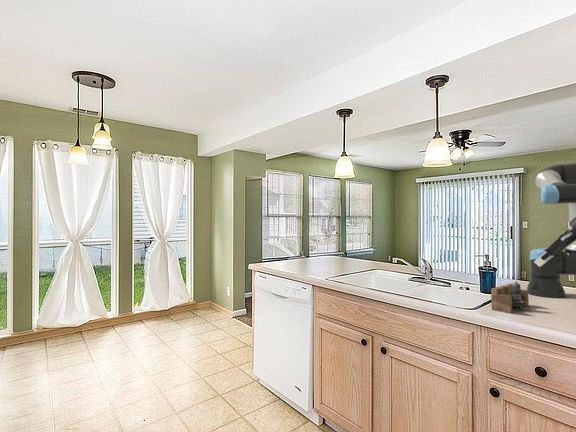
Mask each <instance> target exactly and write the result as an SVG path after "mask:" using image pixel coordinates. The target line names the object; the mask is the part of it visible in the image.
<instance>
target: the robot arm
mask: <svg viewBox="0 0 576 432" xmlns="http://www.w3.org/2000/svg"><path fill="white" fill-rule="evenodd" d="M534 184H535V185H536V187H537V188H538V189H540V200H541V203H543V204H544V205H550V204H551V205H556V204H557V205H558V204H560V205H561V204H568V229H567V230H565V232H563V233H562V234H560V236H558V238H557V239H556V240H555V241H554V242H553V243H551V245H549V246H548V247H545V248H535V249H532V250H531V251H530V254H529V255H530V256H529V260H530V261H529V262H530V279H529V281H528V285H527V287H526V290H528V295H532V296H535V297H537V296H538V297H544V298H557V299H558V298H564V297H566V291H565V289H564V286H563V284H562V281H561V275H566V276H576V163H566V164H564V163H563V164H554V165H550V166H547V167H545V168H543V169H541V170H540V171H538V172H537V173H536V175H535V177H534Z"/></svg>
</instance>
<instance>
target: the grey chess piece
mask: <svg viewBox="0 0 576 432" xmlns="http://www.w3.org/2000/svg"><path fill="white" fill-rule="evenodd" d="M511 284H512V291H511V292H512V311H519V312H523V311H525V308H523V306H524V303H525V301H523V300H522V299H521V293H522V292H520V289H521V284H519V283H518V281H517V280H516V281H515V282H514V283H511Z"/></svg>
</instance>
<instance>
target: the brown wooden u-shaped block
mask: <svg viewBox="0 0 576 432" xmlns="http://www.w3.org/2000/svg"><path fill="white" fill-rule="evenodd" d="M512 284H513V283H507V284H503V285H500V286H496V287H492V288H490V291H491V292H490V293H491V295H490V296H491V310H492V311H496V312H501V313H505V314H513V310H512V307H513V306H512V292H511V291H512ZM520 292H522V293H521V299H522V300H523V301H525V303H524V306H522V308H523V307H524V308H528V307H529V305H530V304H529V303H530V302H529V300H530V299H529V293H528V290H527V289H521V288H520Z"/></svg>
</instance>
